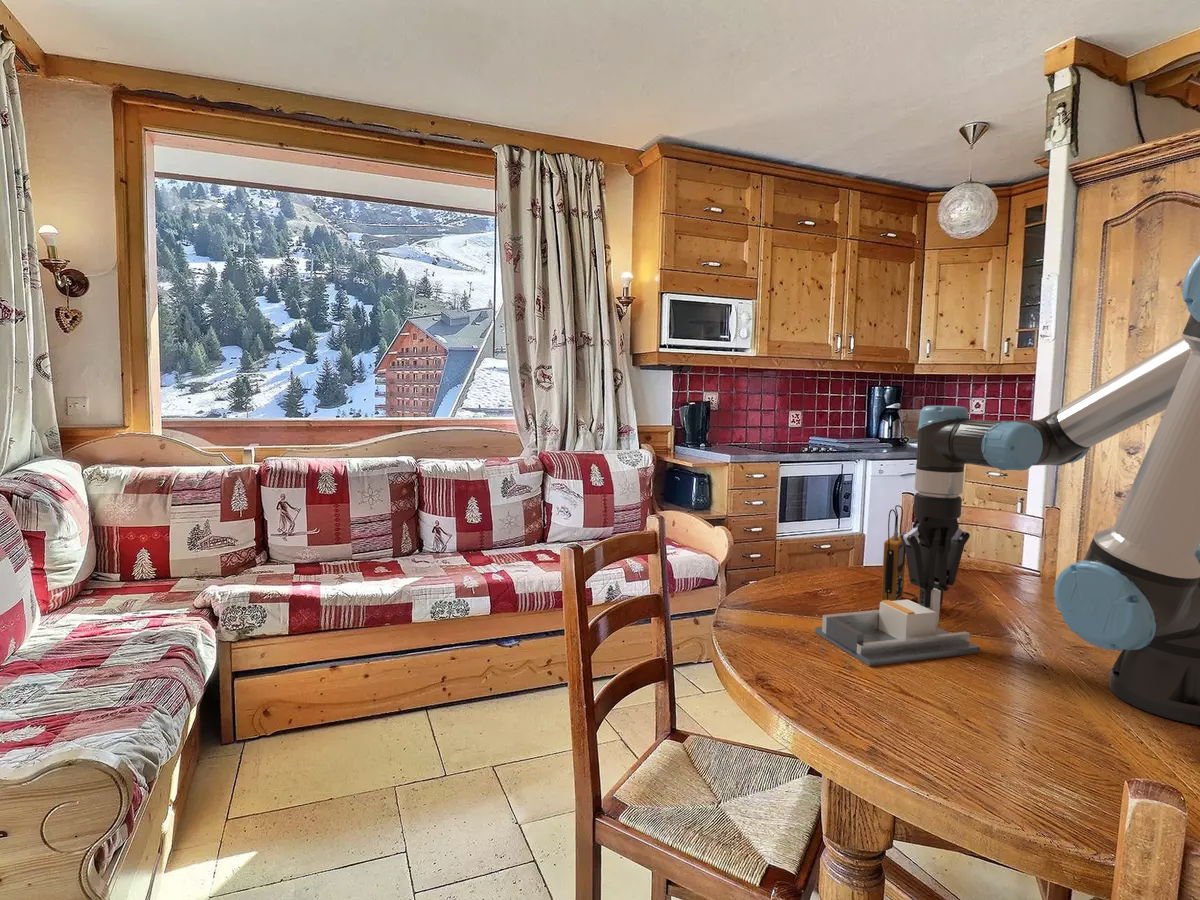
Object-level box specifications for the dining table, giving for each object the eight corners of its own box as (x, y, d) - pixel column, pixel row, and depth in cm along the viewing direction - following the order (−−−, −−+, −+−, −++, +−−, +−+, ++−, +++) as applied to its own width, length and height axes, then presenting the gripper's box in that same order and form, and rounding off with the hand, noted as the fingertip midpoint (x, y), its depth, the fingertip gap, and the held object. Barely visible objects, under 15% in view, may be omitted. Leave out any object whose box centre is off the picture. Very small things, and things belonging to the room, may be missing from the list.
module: (934, 640, 116) (936, 610, 115) (905, 643, 114) (907, 613, 114) (906, 625, 123) (908, 597, 122) (878, 628, 121) (879, 600, 121)
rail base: (979, 652, 113) (981, 629, 113) (869, 666, 107) (870, 642, 107) (915, 622, 128) (916, 601, 127) (815, 632, 122) (815, 611, 121)
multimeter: (929, 618, 130) (935, 517, 128) (875, 607, 136) (880, 511, 134) (944, 599, 141) (950, 506, 139) (894, 590, 147) (899, 501, 145)
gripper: (952, 489, 122) (943, 613, 125) (891, 491, 119) (884, 619, 121) (985, 496, 115) (975, 628, 118) (922, 498, 112) (913, 634, 114)
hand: (929, 623), depth 119 cm, fingers closed
